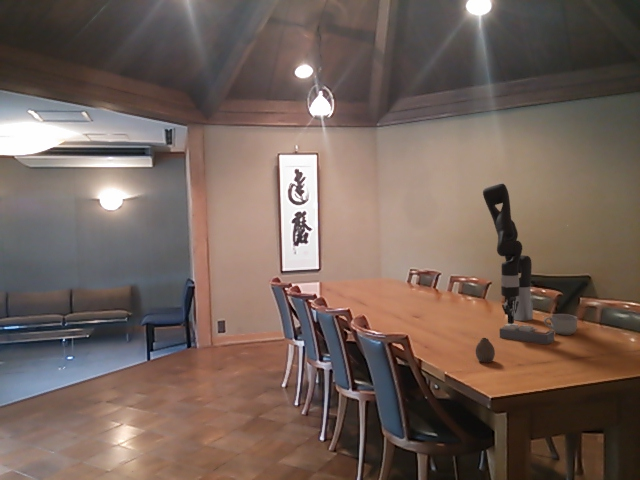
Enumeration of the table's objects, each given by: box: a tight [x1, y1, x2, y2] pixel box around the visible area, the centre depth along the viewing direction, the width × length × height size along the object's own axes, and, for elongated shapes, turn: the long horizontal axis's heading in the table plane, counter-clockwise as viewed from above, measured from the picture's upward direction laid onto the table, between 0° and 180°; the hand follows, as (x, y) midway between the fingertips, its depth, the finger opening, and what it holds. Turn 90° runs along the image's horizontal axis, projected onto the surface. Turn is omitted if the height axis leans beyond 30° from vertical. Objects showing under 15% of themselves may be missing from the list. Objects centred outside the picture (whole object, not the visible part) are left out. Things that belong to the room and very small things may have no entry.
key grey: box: [519, 324, 535, 332], centre depth 212 cm, size 5×5×2 cm
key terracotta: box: [534, 328, 550, 334], centre depth 207 cm, size 5×5×2 cm
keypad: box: [499, 326, 555, 345], centre depth 212 cm, size 20×8×4 cm, turn 46°
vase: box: [475, 337, 496, 364], centre depth 183 cm, size 7×7×9 cm
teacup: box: [543, 313, 578, 336], centre depth 219 cm, size 14×11×8 cm
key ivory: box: [503, 323, 520, 330], centre depth 216 cm, size 5×5×2 cm
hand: (510, 323), depth 216 cm, fingers closed
